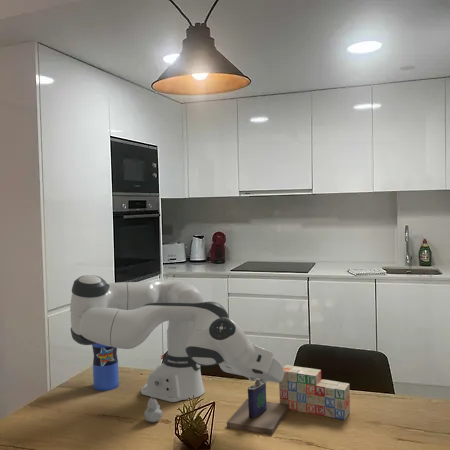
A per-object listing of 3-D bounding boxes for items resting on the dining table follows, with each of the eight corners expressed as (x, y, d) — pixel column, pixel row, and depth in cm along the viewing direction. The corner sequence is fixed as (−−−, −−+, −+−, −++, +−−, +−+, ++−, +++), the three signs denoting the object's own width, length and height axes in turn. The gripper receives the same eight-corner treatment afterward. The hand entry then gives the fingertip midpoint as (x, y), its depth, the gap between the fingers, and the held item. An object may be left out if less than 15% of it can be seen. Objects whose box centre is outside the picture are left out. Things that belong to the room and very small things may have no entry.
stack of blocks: (350, 412, 152) (349, 373, 151) (344, 420, 146) (344, 380, 146) (286, 400, 162) (285, 364, 162) (279, 407, 157) (278, 369, 156)
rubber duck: (140, 424, 147) (139, 398, 147) (150, 414, 153) (149, 389, 153) (157, 426, 145) (156, 399, 145) (166, 416, 152) (165, 391, 151)
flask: (261, 406, 154) (260, 373, 153) (269, 408, 152) (268, 375, 152) (246, 418, 146) (245, 383, 145) (255, 420, 144) (254, 384, 144)
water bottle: (92, 383, 182) (90, 317, 180) (118, 380, 184) (115, 314, 183) (93, 392, 173) (91, 322, 172) (120, 389, 175) (118, 320, 174)
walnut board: (226, 427, 144) (226, 422, 144) (247, 403, 160) (246, 398, 160) (272, 434, 138) (272, 429, 138) (288, 409, 155) (288, 404, 155)
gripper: (208, 361, 144) (226, 383, 153) (270, 373, 134) (286, 395, 142) (216, 342, 148) (233, 365, 157) (277, 352, 137) (292, 375, 146)
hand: (259, 379), depth 149 cm, fingers closed
